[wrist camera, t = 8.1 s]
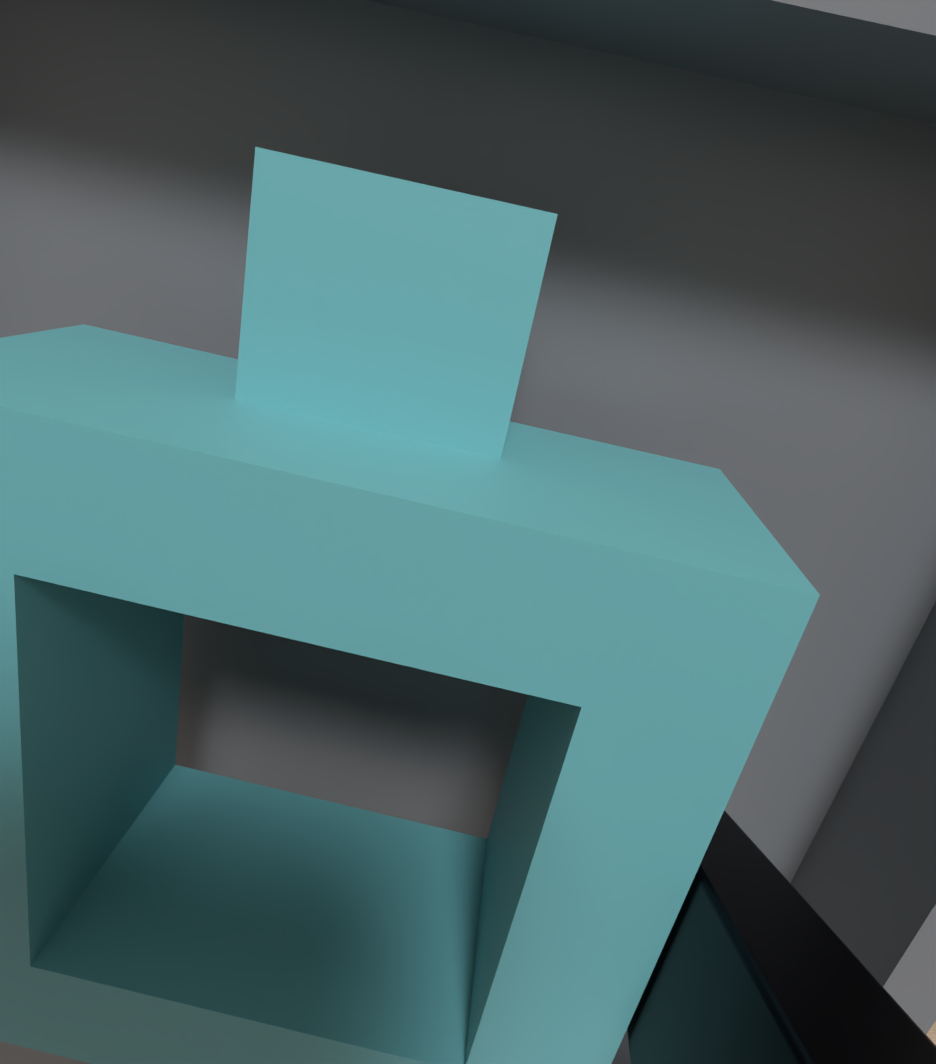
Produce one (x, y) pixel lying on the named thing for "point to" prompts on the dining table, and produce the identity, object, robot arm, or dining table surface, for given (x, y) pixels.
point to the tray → (561, 348)
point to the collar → (364, 629)
